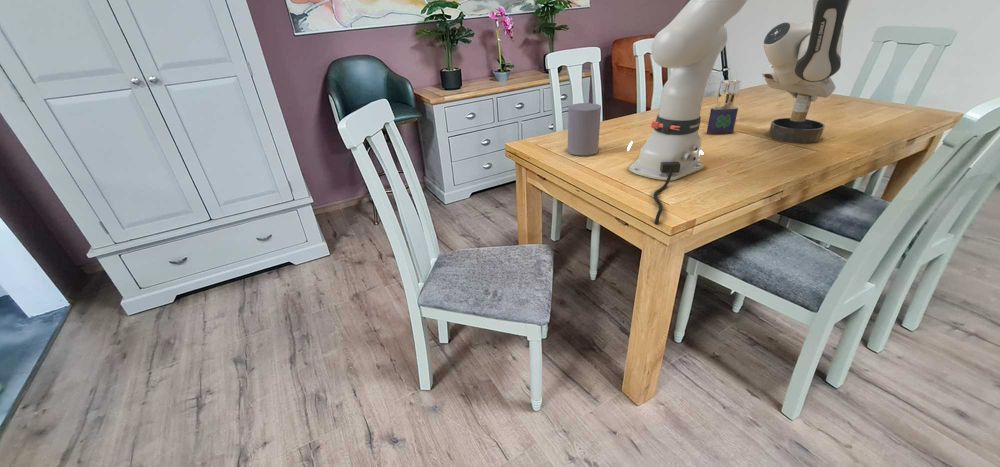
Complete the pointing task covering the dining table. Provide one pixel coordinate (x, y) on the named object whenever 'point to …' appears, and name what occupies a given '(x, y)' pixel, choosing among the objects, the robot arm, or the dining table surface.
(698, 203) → the dining table surface
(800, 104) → the sprinkles bottle
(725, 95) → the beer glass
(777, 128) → the pan
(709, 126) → the blue clover tile
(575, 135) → the container
